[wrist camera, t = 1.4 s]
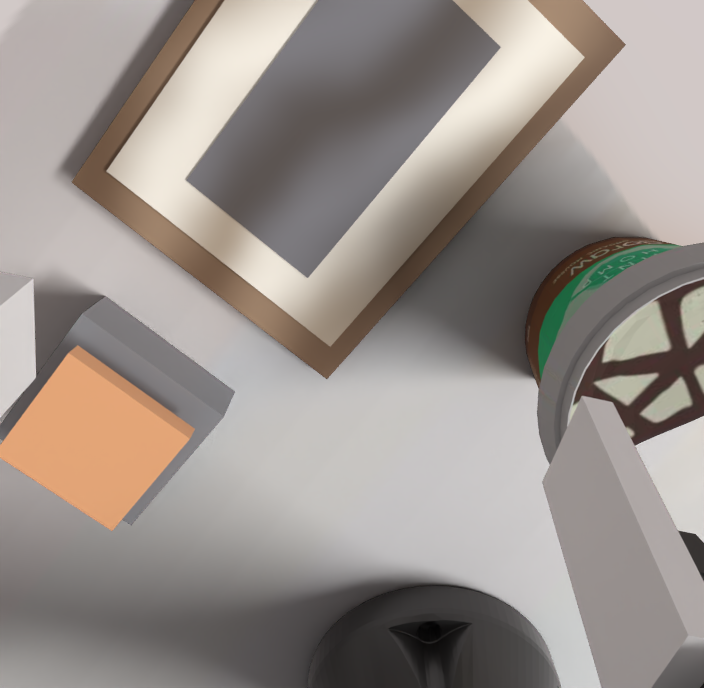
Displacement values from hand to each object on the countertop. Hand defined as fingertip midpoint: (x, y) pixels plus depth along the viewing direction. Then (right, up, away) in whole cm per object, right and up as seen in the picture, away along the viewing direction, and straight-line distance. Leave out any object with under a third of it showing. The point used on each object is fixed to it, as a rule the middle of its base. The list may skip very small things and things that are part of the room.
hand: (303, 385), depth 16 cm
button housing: (-11, -2, +19) cm, 22 cm away
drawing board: (+1, +11, +14) cm, 18 cm away
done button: (-11, -3, +17) cm, 21 cm away
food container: (+13, +4, +17) cm, 22 cm away
